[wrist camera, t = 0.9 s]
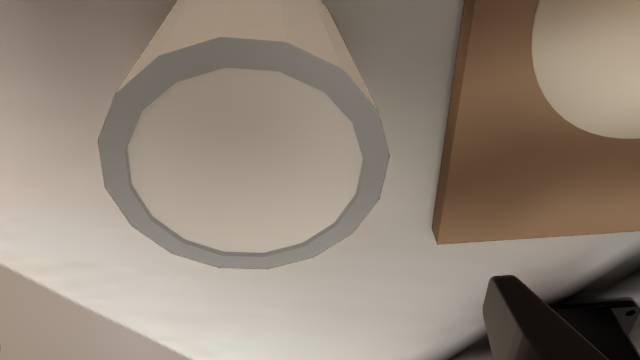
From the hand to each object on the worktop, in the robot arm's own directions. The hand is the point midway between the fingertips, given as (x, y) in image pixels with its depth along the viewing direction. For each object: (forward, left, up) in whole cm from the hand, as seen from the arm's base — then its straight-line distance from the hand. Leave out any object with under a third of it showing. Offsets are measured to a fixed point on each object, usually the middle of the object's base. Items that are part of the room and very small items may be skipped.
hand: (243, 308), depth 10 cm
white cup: (0, 0, -11) cm, 11 cm away
